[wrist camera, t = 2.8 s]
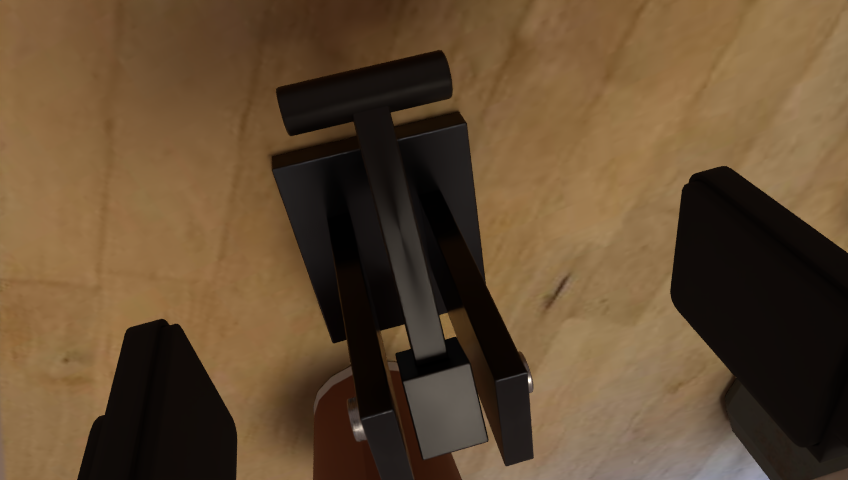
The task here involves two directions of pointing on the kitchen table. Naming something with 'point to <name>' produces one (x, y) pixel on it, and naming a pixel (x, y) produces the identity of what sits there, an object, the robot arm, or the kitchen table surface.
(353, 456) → the coffee cup
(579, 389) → the kitchen table surface
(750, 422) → the bottle
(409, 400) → the lever
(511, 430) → the bracket
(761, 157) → the kitchen table surface
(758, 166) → the kitchen table surface
